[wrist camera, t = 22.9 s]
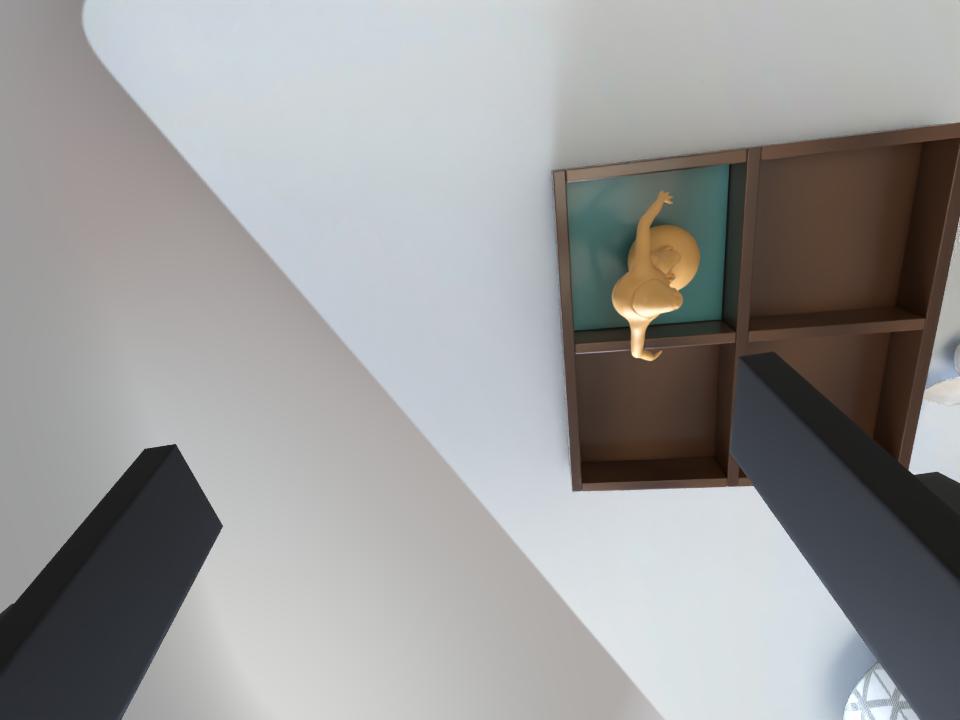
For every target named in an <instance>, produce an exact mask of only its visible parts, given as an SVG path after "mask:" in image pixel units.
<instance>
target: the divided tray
mask: <svg viewBox="0 0 960 720" xmlns="http://www.w3.org/2000/svg"><path fill="white" fill-rule="evenodd" d="M551 174H552V190H553V206H554V222H555V239H556V255H557V271H558V287H559V303H560V320H561V336H562V352H563V368H564V384H565V401H566V417H567V433H568V449H569V465H570V475H571V484H572V491H573V492H582V491H583V492H590V491H619V490H648V489H677V488H706V487H726V486H727V487H734V486H753V484H752V483H751V481H750V480H749V479H748V477H747V476H746V474H745V473H744V472H743V470H742V469H741V467H740V466H739V465H738V463H737V462H736V460H735V459H734V458H733V456H732V455H731V453H730V445H731V435H732V424H733V414H734V404H735V393H736V383H737V372H738V362H739V357H741V356H747V355H754V354H760V353H767V352H773V351H774V352H775V353H776V354H777V355H779V356H780V357H781V358H782V359H783V360H784V361H785V362H786V363H788V364H789V365H790V366H791V367H792V368H793V369H794V370H796V371H797V372H798V373H799V374H800V375H801V376H802V377H803V378H805V379H806V380H807V381H808V382H809V383H810V384H811V385H812V386H814V387H815V388H816V389H817V390H818V391H819V392H820V393H821V394H823V395H824V396H825V397H826V398H827V399H828V400H829V401H831V402H832V403H833V404H834V405H835V406H836V407H837V408H838V409H840V410H841V411H842V412H843V413H844V414H845V415H846V416H847V417H849V418H850V419H851V420H852V421H853V422H854V423H855V424H856V425H858V426H859V427H860V428H861V429H862V430H863V431H864V432H866V433H867V434H868V435H869V436H870V437H871V438H872V439H873V440H875V441H876V442H877V443H878V444H879V445H880V446H881V447H882V448H884V449H885V450H886V451H887V452H888V453H889V454H890V455H891V456H893V457H894V458H895V459H896V460H897V461H898V462H899V463H900V464H902V465H903V466H904V467H905V468H906V469H907V470H908V469H909V464H910V459H911V454H912V449H913V444H914V439H915V434H916V429H917V424H918V419H919V414H920V410H921V405H922V400H923V395H924V390H925V385H926V380H927V375H928V370H929V365H930V360H931V355H932V350H933V345H934V340H935V336H936V331H937V326H938V321H939V316H940V311H941V306H942V301H943V296H944V291H945V286H946V281H947V276H948V271H949V266H950V261H951V257H952V252H953V247H954V242H955V237H956V232H957V227H958V222H959V217H960V122H959V123H948V124H938V125H929V126H921V127H912V128H904V129H895V130H887V131H879V132H870V133H862V134H853V135H845V136H837V137H828V138H820V139H811V140H803V141H795V142H786V143H778V144H770V145H761V146H753V147H744V148H736V149H728V150H719V151H711V152H702V153H694V154H686V155H677V156H669V157H660V158H652V159H644V160H635V161H627V162H619V163H610V164H602V165H593V166H585V167H577V168H568V169H560V170H552V171H551ZM661 191H664V193H666V192H669V194H668V196H673V198H671V199H669V200H670V201H671V202H673V204H669V203H666V202H664V203H663V206H662V208H661V210H660V212H659V213H658V215H657V216H656V217H655V218H654V220H653V222H652V224H651V226H650V228H651V227H654V226H658V225H674V226H678V227H680V228H683V229H684V230H686V231H687V232H689V233H690V234H691V235H692V236H693V238H694V239H695V241H696V243H697V245H698V247H699V252H700V262H699V267H698V270H697V272H696V274H695V276H694V277H693V279H692V280H691V281H690V282H689V283H688V284H687V285H686V286H684V287H683V288H681V289H680V290H678V292H679V293H680V294H681V295H682V297H683V303H682V305H681V306H680V307H679V308H678V309H676V310H674V311H670V312H665V313H661V314H659V315H658V316H657V317H656V318H655V319H653V320H652V321H651V322H650V323H649V325H648V326H647V329H646V331H645V340H644V346H643V349H644V350H647V351H650V352H651V353H652V354H656V353H658V352H659V351H661V350H662V353H661V354H660V355H659V356H658V357H657V358H656V359H654V360H652V361H649V360H644V359H642V358H635V357H634V356H633V355H632V352H631V328H630V324H629V321H628V320H627V319H626V318H625V317H623V316H622V315H620V314H619V313H618V312H617V311H616V309H615V307H614V305H613V302H612V292H613V288H614V286H615V284H616V283H617V282H618V280H619V279H620V278H622V277H623V276H624V275H625V274H626V273H627V272H629V269H628V254H629V250H630V248H631V246H632V244H633V242H634V241H635V239H636V234H637V227H638V223H639V220H640V219H641V217H642V216H643V215H644V214H645V213H646V212H647V210H648V209H649V208H650V206H651V205H652V204H653V203H654V202H655V201H656V200H657V197H658V195H659V193H660V192H661Z"/></svg>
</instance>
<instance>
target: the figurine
mask: <svg viewBox="0 0 960 720" xmlns="http://www.w3.org/2000/svg"><path fill="white" fill-rule="evenodd" d="M668 194H669V192H666V193H664V191H661V192H660V193H659V195H658V197H657V200H656V201H655V202H654V203H653V204H652V205H651V206H650V208H649V209H648V210H647V212H646V213H645V214H644V215H643V216H642V217H641V219H640V220H639V223H638V227H637V234H636V239H635V241H634V242H633V244H632V246H631V248H630V250H629V254H628V269H629V272H627V273H626V274H625V275H624V276H623V277H622V278H620V279H619V280H618V282H617V283H616V284H615V286H614V288H613V292H612V302H613V305H614V307H615V309H616V311H617V312H618V313H619V314H620V315H622V316H623V317H625V318H626V319H627V320H628V321H629V324H630V328H631V352H632V355H633V356H634V357H635V358H642V359H644V360H649V361H652V360H654V359H656V358H657V357H658V356H659V355H660V354H661V353H662V350H661V351H659V352H658V353H656V354H652V353H651V352H650V351H647V350H644V349H643V346H644V340H645V331H646V329H647V326H648V325H649V323H650V322H651V321H652V320H653V319H655V318H656V317H657V316H658V315H659V314H661V313H665V312H670V311H674V310H676V309H678V308H679V307H680V306H681V305H682V303H683V297H682V295H681V294H680V293H679V292H678V290H680V289H681V288H683V287H684V286H686V285H687V284H688V283H689V282H690V281H691V280H692V279H693V277H694V276H695V274H696V272H697V270H698V267H699V262H700V252H699V247H698V245H697V243H696V241H695V239H694V238H693V236H692V235H691V234H690V233H689V232H687V231H686V230H684V229H683V228H680V227H678V226H674V225H658V226H654V227H651V228H650V226H651V224H652V222H653V220H654V218H655V217H656V216H657V215H658V213H659V212H660V210H661V208H662V206H663V203H664V202H666V203H669V204H673V202H671V201H670V200H669V199H671V198H673V196H668Z"/></svg>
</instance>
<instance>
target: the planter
mask: <svg viewBox="0 0 960 720" xmlns="http://www.w3.org/2000/svg"><path fill="white" fill-rule="evenodd" d="M843 720H920V719H919V718H918V716H917V715H916V714H915V712H914V711H913V709H912V708H911V707H910V705H909V704H908V702H907V701H906V700H905V698H904V697H903V695H902V694H901V693H900V691H899V690H898V688H897V687H896V686H895V684H894V683H893V681H892V680H891V678H890V677H889V676H888V674H887V673H886V671H885V670H884V669H883V667H882V666H881V664H880V663H879V662H878V663H876V664H875V665H874V666H873V667H872V668H871V669H870V670H868V671H867V672H866V673H865V675H864V676H863V677H862V678H861V679H860V680H859V682H858V683H857V684H856V686H855V687H854V689H853V690H852V692H851V694H850V696H849V698H848V701H847V703H846V706H845V710H844V717H843Z"/></svg>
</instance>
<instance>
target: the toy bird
mask: <svg viewBox="0 0 960 720" xmlns="http://www.w3.org/2000/svg"><path fill="white" fill-rule="evenodd" d="M954 360H955V364H954V368H955V370H956V371H957V372H958V373H959V374H960V344H959V345H958V346H957V348H956V350H955V355H954ZM923 399H924V400H928V401H932V402H936V403H939V404H943V405H947V406H952V405H958V404H960V376H958V377H955V378H952V379H949V380H944V381H941V382H938V383H936V384H935V385H933V386H931V387H930V388H928V389H926V390H924V395H923Z"/></svg>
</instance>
